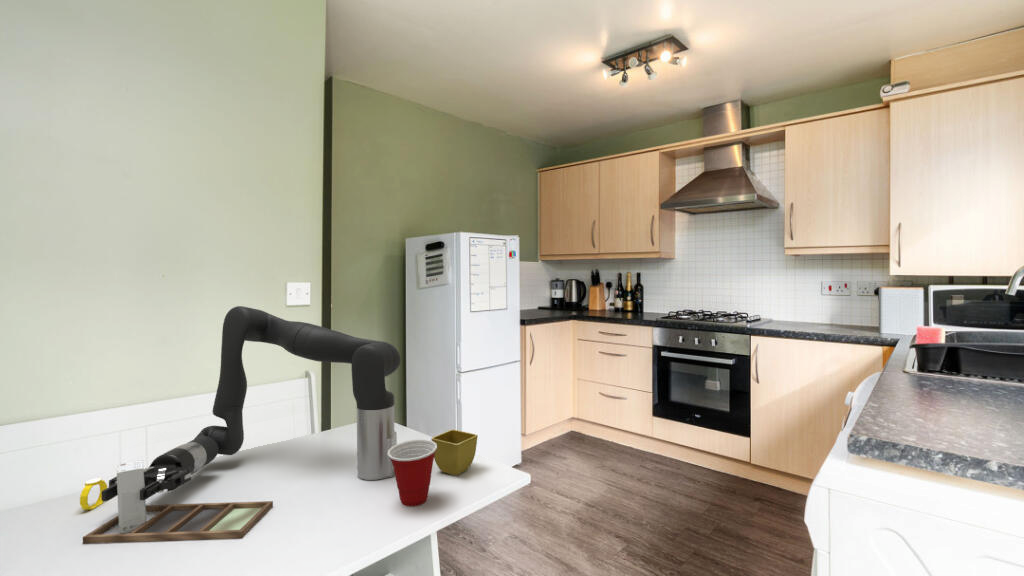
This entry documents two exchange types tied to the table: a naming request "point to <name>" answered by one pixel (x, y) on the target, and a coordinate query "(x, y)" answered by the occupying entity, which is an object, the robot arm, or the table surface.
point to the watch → (86, 490)
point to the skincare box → (130, 496)
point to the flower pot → (455, 451)
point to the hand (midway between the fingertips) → (122, 495)
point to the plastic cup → (413, 469)
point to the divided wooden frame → (188, 522)
